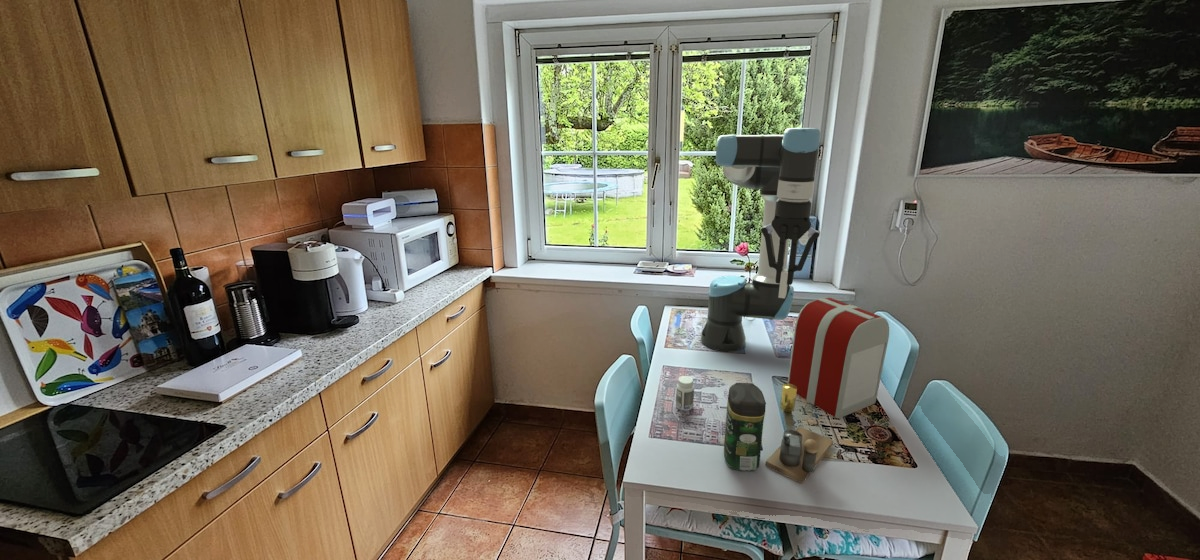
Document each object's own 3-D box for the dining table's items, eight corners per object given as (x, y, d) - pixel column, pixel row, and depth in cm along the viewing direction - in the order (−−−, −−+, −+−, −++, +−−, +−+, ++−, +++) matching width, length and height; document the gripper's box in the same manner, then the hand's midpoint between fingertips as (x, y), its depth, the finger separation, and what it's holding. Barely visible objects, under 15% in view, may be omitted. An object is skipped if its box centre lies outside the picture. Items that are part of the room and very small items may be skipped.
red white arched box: (837, 419, 128) (853, 325, 119) (784, 387, 143) (796, 302, 134) (877, 402, 135) (895, 312, 126) (823, 373, 150) (836, 291, 141)
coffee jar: (720, 444, 119) (726, 377, 113) (754, 446, 118) (761, 379, 112) (725, 472, 110) (732, 401, 104) (761, 474, 109) (770, 403, 103)
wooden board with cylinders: (765, 465, 112) (769, 433, 109) (798, 429, 124) (802, 400, 121) (806, 486, 106) (811, 452, 103) (837, 446, 118) (842, 415, 115)
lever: (784, 453, 107) (788, 424, 104) (777, 409, 122) (780, 382, 120) (804, 456, 106) (808, 426, 103) (794, 411, 121) (797, 384, 119)
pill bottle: (694, 402, 136) (695, 376, 133) (691, 412, 132) (693, 385, 129) (677, 399, 138) (678, 373, 135) (674, 409, 133) (675, 382, 131)
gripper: (761, 199, 110) (751, 297, 118) (824, 204, 104) (809, 305, 112) (766, 194, 116) (757, 287, 124) (826, 198, 111) (812, 295, 119)
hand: (782, 296), depth 118 cm, fingers closed
